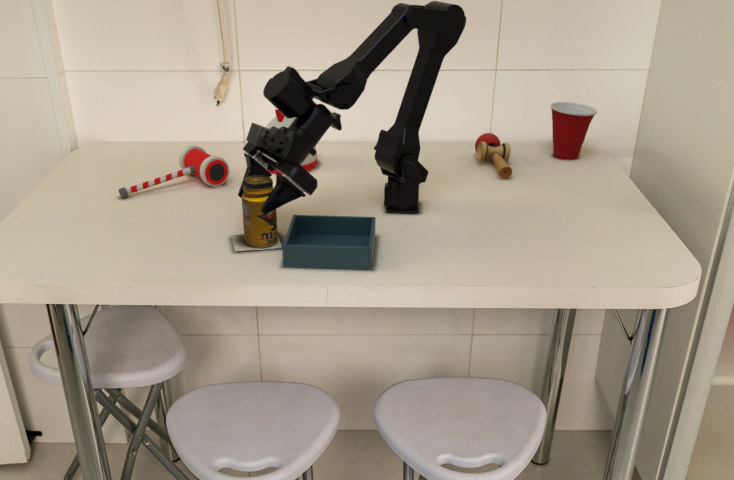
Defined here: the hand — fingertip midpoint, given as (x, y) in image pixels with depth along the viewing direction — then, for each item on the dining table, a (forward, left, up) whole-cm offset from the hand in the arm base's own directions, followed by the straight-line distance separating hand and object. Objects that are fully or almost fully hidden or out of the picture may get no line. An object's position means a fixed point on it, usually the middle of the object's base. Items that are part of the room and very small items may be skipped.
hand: (250, 204), depth 139 cm
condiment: (0, 0, -8) cm, 8 cm away
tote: (-14, +3, -7) cm, 16 cm away
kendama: (-48, -48, -8) cm, 68 cm away
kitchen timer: (0, -46, -8) cm, 46 cm away
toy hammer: (+21, -30, -8) cm, 37 cm away
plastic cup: (-66, -57, -8) cm, 87 cm away
